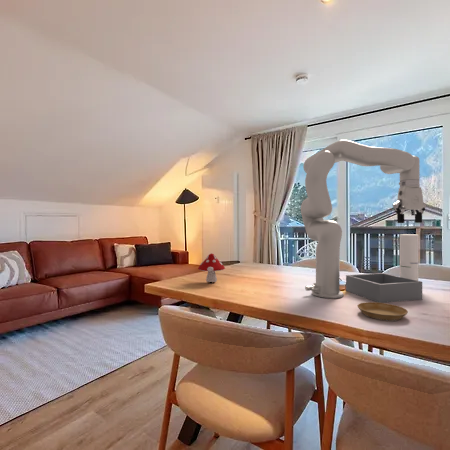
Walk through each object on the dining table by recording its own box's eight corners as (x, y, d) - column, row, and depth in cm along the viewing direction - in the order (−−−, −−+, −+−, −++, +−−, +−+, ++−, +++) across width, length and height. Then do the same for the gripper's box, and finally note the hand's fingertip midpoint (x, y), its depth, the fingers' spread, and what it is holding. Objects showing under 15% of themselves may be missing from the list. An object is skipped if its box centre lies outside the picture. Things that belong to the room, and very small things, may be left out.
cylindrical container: (421, 292, 127) (421, 235, 127) (403, 291, 129) (403, 234, 128) (414, 288, 134) (414, 234, 134) (397, 287, 136) (397, 234, 135)
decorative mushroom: (222, 286, 140) (222, 255, 140) (194, 285, 142) (194, 254, 142) (226, 280, 154) (226, 252, 154) (201, 279, 156) (201, 251, 156)
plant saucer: (348, 310, 103) (348, 303, 102) (383, 307, 106) (383, 300, 106) (379, 325, 88) (379, 316, 88) (419, 321, 91) (419, 313, 91)
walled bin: (379, 302, 111) (379, 284, 111) (346, 290, 130) (346, 275, 130) (422, 299, 116) (422, 281, 116) (383, 288, 135) (383, 273, 135)
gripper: (400, 183, 125) (400, 223, 125) (432, 183, 129) (432, 222, 129) (386, 185, 132) (387, 223, 133) (417, 185, 136) (417, 222, 137)
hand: (409, 222), depth 131 cm, fingers open, 9 cm apart
